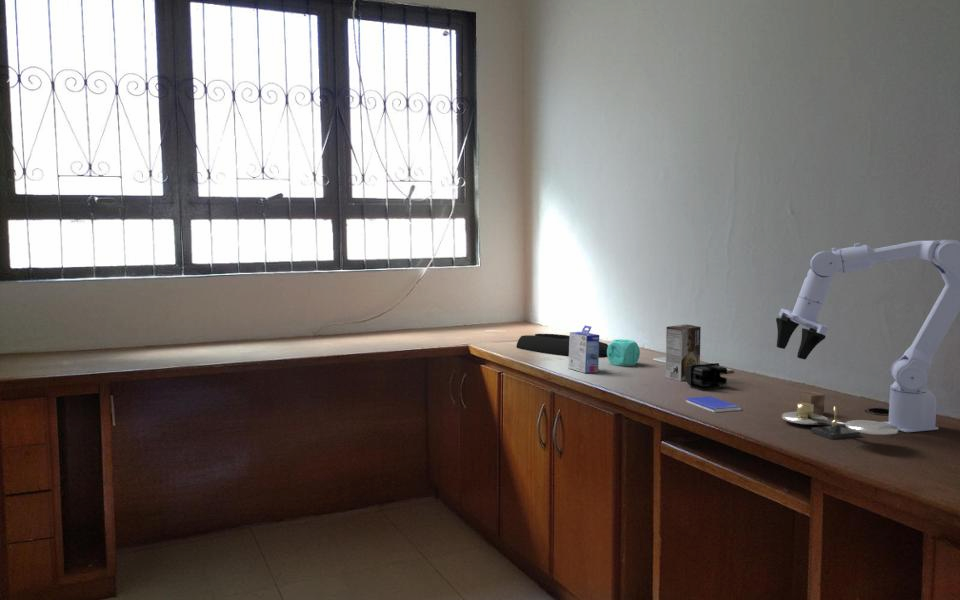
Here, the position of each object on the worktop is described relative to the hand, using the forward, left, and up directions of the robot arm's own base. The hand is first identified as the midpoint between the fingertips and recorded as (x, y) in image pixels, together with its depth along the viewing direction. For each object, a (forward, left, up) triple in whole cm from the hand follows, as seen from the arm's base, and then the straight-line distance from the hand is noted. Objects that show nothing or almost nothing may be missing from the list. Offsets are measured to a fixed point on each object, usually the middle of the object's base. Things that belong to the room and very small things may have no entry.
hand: (790, 353), depth 184 cm
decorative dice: (+3, -78, -16) cm, 80 cm away
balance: (0, +16, -16) cm, 22 cm away
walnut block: (-9, -2, -16) cm, 18 cm away
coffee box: (-3, -51, -16) cm, 54 cm away
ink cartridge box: (+21, -71, -16) cm, 76 cm away
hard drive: (+10, -16, -17) cm, 25 cm away
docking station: (+9, -112, -17) cm, 114 cm away
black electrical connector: (-2, -37, -16) cm, 41 cm away
